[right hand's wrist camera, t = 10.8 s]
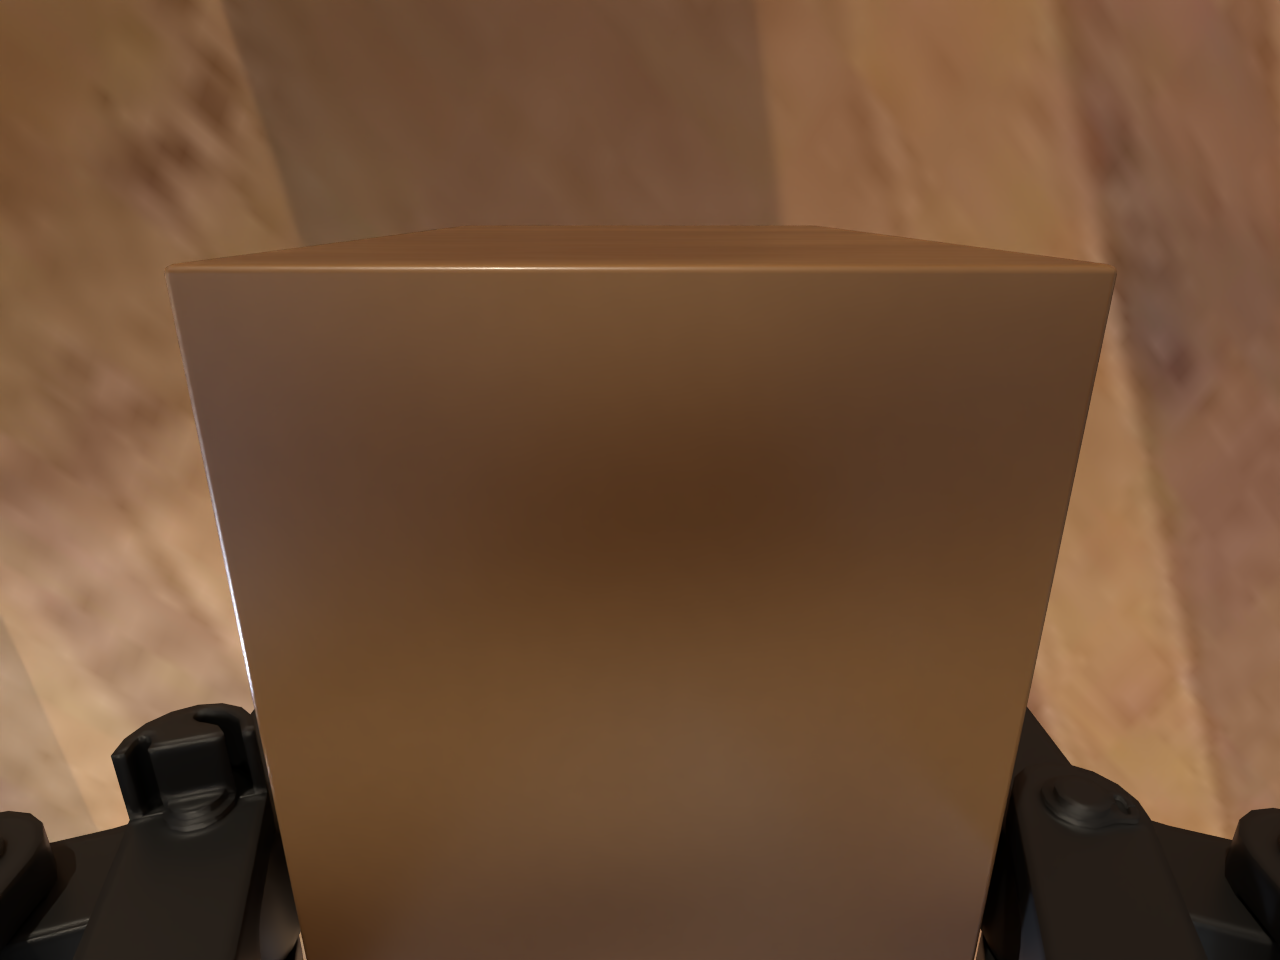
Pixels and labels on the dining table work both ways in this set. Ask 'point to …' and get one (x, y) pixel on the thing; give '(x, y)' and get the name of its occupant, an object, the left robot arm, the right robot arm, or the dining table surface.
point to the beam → (640, 577)
